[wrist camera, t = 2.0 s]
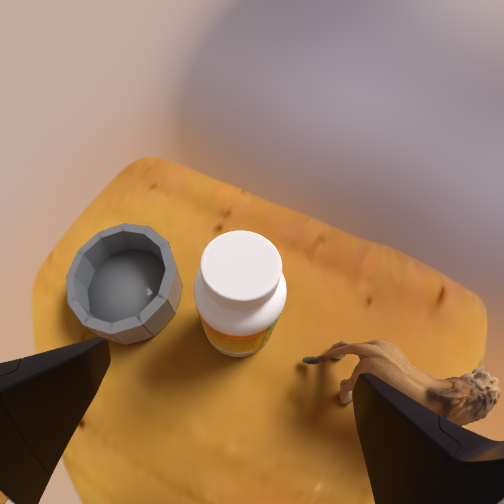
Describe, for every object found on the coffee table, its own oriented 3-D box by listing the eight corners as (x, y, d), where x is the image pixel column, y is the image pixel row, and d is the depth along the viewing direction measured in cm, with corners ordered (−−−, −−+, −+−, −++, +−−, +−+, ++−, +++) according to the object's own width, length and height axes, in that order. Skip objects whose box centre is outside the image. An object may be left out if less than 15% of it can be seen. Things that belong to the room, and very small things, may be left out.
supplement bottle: (268, 362, 20) (294, 323, 11) (198, 351, 20) (173, 305, 12) (274, 299, 23) (298, 226, 14) (211, 290, 23) (199, 213, 14)
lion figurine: (443, 385, 18) (512, 359, 11) (428, 437, 15) (502, 430, 8) (312, 334, 21) (356, 285, 14) (286, 392, 18) (322, 379, 11)
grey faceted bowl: (91, 355, 18) (72, 344, 16) (80, 262, 23) (66, 243, 20) (195, 324, 21) (189, 310, 18) (167, 233, 25) (161, 211, 23)
